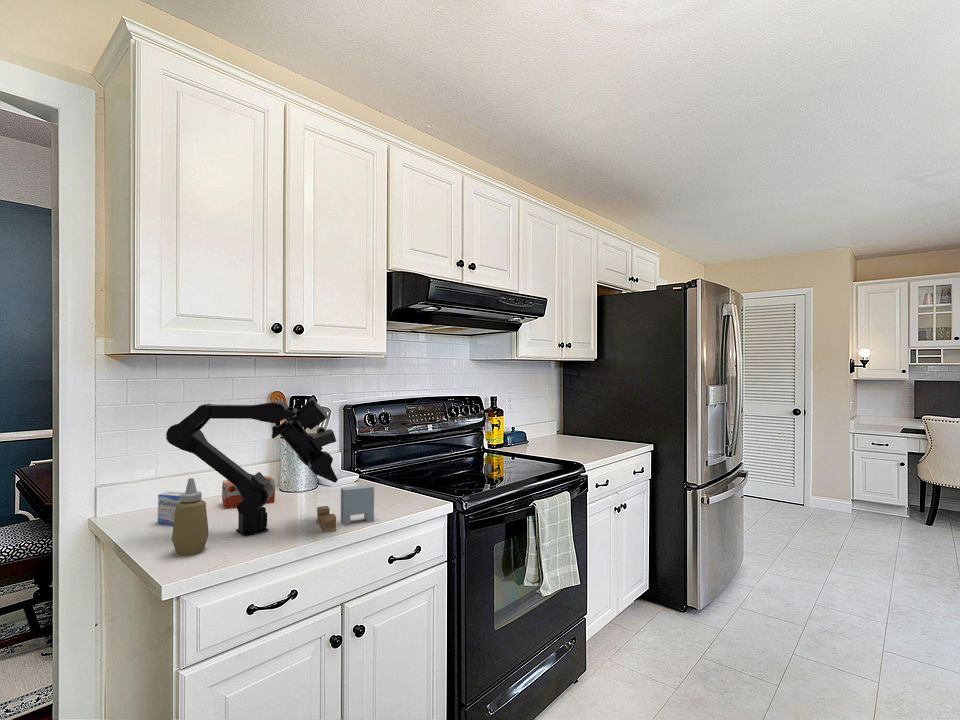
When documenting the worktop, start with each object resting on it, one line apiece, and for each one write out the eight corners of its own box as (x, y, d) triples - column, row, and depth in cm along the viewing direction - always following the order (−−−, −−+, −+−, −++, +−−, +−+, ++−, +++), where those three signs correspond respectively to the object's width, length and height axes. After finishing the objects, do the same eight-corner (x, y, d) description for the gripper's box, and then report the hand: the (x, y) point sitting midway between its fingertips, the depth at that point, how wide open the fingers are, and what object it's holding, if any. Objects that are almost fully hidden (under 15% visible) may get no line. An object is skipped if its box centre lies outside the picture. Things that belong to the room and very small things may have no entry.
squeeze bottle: (173, 560, 122) (174, 483, 122) (169, 550, 129) (170, 477, 129) (211, 552, 127) (212, 479, 127) (206, 543, 133) (206, 473, 133)
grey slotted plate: (343, 524, 149) (343, 490, 149) (340, 521, 152) (340, 487, 152) (373, 520, 153) (374, 487, 154) (370, 517, 157) (370, 484, 157)
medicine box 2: (269, 497, 180) (270, 474, 180) (275, 503, 173) (275, 479, 173) (221, 504, 171) (221, 480, 171) (225, 510, 164) (225, 484, 165)
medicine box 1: (156, 524, 149) (157, 494, 149) (169, 519, 153) (169, 490, 153) (179, 526, 147) (180, 496, 147) (191, 522, 151) (192, 492, 152)
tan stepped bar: (336, 530, 144) (336, 516, 144) (325, 532, 143) (325, 517, 143) (327, 519, 155) (327, 505, 155) (317, 520, 153) (317, 507, 153)
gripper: (329, 424, 141) (363, 465, 146) (313, 415, 157) (344, 452, 162) (295, 452, 136) (332, 493, 142) (282, 440, 152) (316, 477, 158)
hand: (332, 477), depth 151 cm, fingers open, 9 cm apart
